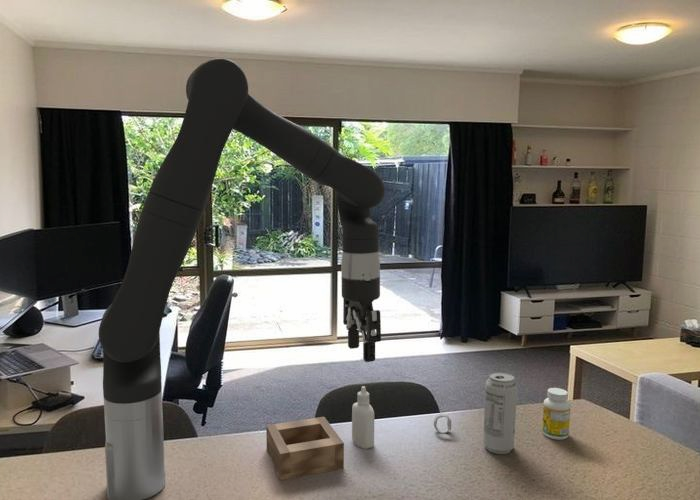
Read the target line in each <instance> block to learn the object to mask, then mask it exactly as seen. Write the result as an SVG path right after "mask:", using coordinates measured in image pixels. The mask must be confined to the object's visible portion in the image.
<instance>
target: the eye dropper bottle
mask: <svg viewBox="0 0 700 500" xmlns="http://www.w3.org/2000/svg"><path fill="white" fill-rule="evenodd" d="M356 400H357V401H356V402H354V403H353V404H352V406H351V407H352V410H351V411H352V412H351V440H352V442H353V443H354V445H356V446H357V447H359V448H360V449H364V450H366V449H370V448H373V447H374V446H375V410H374V408H373V406H372V405H371V404H370V393H369V392H368V391H367V390H366V386H365V385H364V386H363V385H362V386H361V390H360V391H358V392H357V399H356Z"/></svg>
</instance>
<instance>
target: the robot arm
mask: <svg viewBox="0 0 700 500" xmlns="http://www.w3.org/2000/svg"><path fill="white" fill-rule="evenodd" d="M185 93H186V94H185V95H186V98H187V103H186V104H187V105H186V108H185V112H184V116H183V120H182V123H181V126H180V129H179V132H178V133H177V136H176V139H175V141H174V142H173V144H172V145H171V147H170V149H169V151H168V153H167V154H166V155H165V158H164V160H163V161H162V163H161V165H160V166H159V169H158V170H157V172H156V174H155V176H154V178H153V181H152V183H151V185H150V187H149V190H148V193H147V195H146V198H145V200H144V203H143V206H142V209H141V212H140V214H139V215H140V216H139V218H138V221H137V225H136V230H135V233H134V237H133V242H132V245H131V251H130V256H129V260H128V265H127V268H126V271H125V274H124V277H123V280H122V281H121V283H120V286H119V288H118V290H117V292H116V295H115V297H114V299H113V301H112V303H111V304H109V306H108V307H107V308H106V309H105V311H104V313H103V315H102V317H101V320H100V323H99V327H98V340H99V343H100V346H101V349H102V360H103V361H102V362H103V365H102V368H103V370H102V373H103V374H102V394H103V395H102V396H103V410H104V427H105V432H104V433H105V444H104V454H105V473H106V474H105V475H106V476H105V478H106V493H107V494H106V495H107V500H147V499H149V498H151V497H153V496H155V495H157V494H158V493H160V492H161V491H162V490H163V489H164V487H165V486H166V465H165V442H164V441H165V439H164V418H163V417H164V416H163V413H164V412H163V395H162V394H163V392H162V389H163V388H162V386H163V385H162V360H161V339H160V338H161V336H160V334H161V333H160V331H161V326H162V321H163V318H164V314H165V310H166V307H167V301H168V299H169V295H170V293H171V289H172V286H173V283H174V281H175V280H176V277H177V275H178V273H179V271H180V269H181V267H182V265H183V263H184V261H185V259H186V257H187V254H188V252H189V250H190V247H191V245H192V243H193V241H194V238H195V236H196V233H197V230H198V228H199V226H200V223H201V221H202V217H203V214H204V213H205V212H204V211H205V209H206V206H207V203H208V200H209V198H210V197H209V196H210V194H211V191H212V187H213V185H214V180H215V177H216V174H217V170H218V167H219V163H220V160H221V156H222V154H223V151H224V148H225V147H226V144H227V142H228V139H229V137H230V135H231V133H232V131H233V130H234V131H237V132H238V133H240V134H242V135H244V136H246V137H247V138H249V139H250V140H252V141H254V142H256V143H257V144H259V145H261V146H262V147H264V149H265V148H266V150H269V151H270V152H271V153H272V154H274V155H276V156H277V157H278V158H279V159H281V160H283V161H284V162H285V163H287V164H288V165H290V166H291V167H293V168H294V169H296V170H297V171H298V172H300V174H303V175H304V176H306V177H308V178H309V179H311V180H312V181H313V182H315V183H317V184H319V185H322V186H326V187H329V188H330V189H333V190H334V191H335V192H336V193H335V196H336V197H335V198H336V205H337V210H338V215H339V220H340V224H341V228H342V229H341V230H342V233H341V234H342V235H341V236H342V237H341V238H342V241H341V242H342V244H341V246H342V254H341V265H340V266H341V267H340V268H341V269H340V270H341V271H340V272H341V277H340V278H341V298H342V299H343V301H342V302H343V306H342V307H343V309H342V312H343V314H342V318H343V320H342V321H343V322H342V323H343V325H345V329H346V331H347V347H348V348H349V349H351V350H352V349H358V348H359V347H360V334H361V338H362V343H363V344H362V352H363V353H362V355H363V357H362V359H363V362H365V363H370V362H371V363H372V362H374V361H376V343H379V342H381V341H382V332H381V331H382V330H381V329H382V328H381V324H382V323H381V322H382V321H381V311H380V310H379V309H377V310H374V308H373V302H374V301H375V300H378V299H379V298H380V297H381V259H380V253H379V251H380V250H379V248H380V247H379V246H380V245H379V226H378V224H377V223H376V222H375V221H374V220H373V219H372V216H371V210H370V209H372V208H375V207H376V206H378V205H379V204H380V203H381V202H382V201H383V200H384V198H385V197H384V196H385V192H386V188H385V185H384V182H383V180H382V179H381V177H380V176H379V175H378V174H377V173H376V172H375V171H374V170H372V169H370V168H369V167H368V166H366V165H364V164H362V163H360V162H358V161H357V160H354V159H352V158H350V157H348V156H346V155H344V154H342V153H341V152H339V150H337V149H336V148H334V146H332V145H330V144H329V143H328V142H326V141H324V140H323V139H322V138H320V137H319V136H317V134H315V133H313V132H311V131H310V130H309V129H306V128H304V127H302V126H301V125H299V124H297V123H294V122H292V121H291V120H289V119H287V118H285V117H283V116H281V115H279V114H277V113H275V112H274V111H272V110H271V109H269V108H268V107H266V106H264V104H262V103H260V102H259V101H258V100H256V98H254V97H253V96H252V95H251V94H250V93H249V84H248V79H247V77H246V75H245V72H244V70H243V69H242V68H241V67H240V66H239V65H238V64H237V63H236V62H235V61H233V60H230V59H228V58H221V57H220V58H218V57H217V58H211V59H209V60H206V61H204V62H202V63H201V64H200V65H198V66H197V67H196V68H195V69H194V70H193V71H192V72H191V73H190V75H189V76H188V78H187V80H186V85H185Z"/></svg>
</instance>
